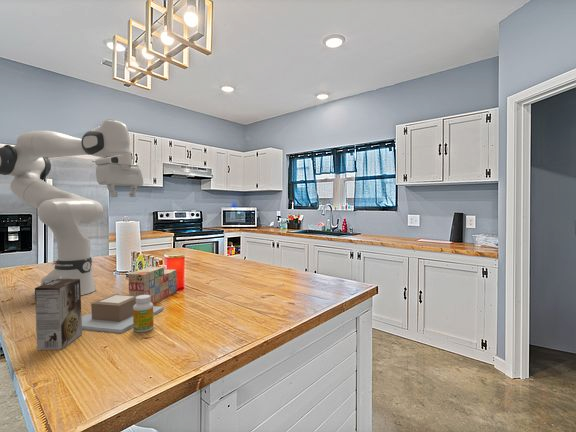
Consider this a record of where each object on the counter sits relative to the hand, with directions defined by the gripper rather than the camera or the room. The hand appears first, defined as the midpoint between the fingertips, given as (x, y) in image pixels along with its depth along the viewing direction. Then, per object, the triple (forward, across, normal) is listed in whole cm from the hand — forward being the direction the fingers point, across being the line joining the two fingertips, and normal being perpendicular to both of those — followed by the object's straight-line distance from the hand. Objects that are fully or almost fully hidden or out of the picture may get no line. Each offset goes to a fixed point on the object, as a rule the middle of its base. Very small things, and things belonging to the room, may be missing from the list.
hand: (123, 197), depth 122 cm
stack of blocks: (+41, 0, +8) cm, 42 cm away
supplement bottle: (+42, +26, +25) cm, 55 cm away
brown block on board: (+40, +21, +11) cm, 47 cm away
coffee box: (+40, +39, +10) cm, 57 cm away
